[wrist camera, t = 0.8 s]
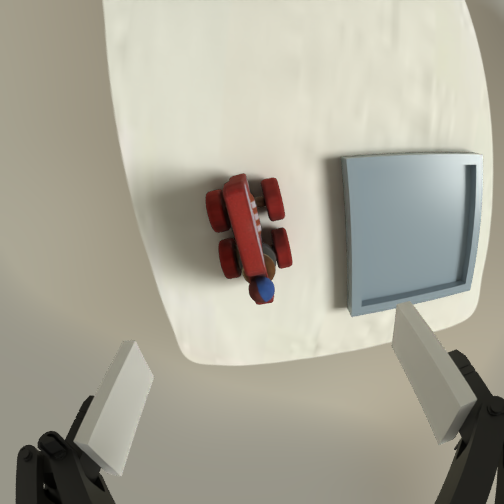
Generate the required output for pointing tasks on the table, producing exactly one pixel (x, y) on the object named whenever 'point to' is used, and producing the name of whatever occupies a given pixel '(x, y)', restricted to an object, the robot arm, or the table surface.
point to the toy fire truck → (249, 234)
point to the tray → (410, 226)
